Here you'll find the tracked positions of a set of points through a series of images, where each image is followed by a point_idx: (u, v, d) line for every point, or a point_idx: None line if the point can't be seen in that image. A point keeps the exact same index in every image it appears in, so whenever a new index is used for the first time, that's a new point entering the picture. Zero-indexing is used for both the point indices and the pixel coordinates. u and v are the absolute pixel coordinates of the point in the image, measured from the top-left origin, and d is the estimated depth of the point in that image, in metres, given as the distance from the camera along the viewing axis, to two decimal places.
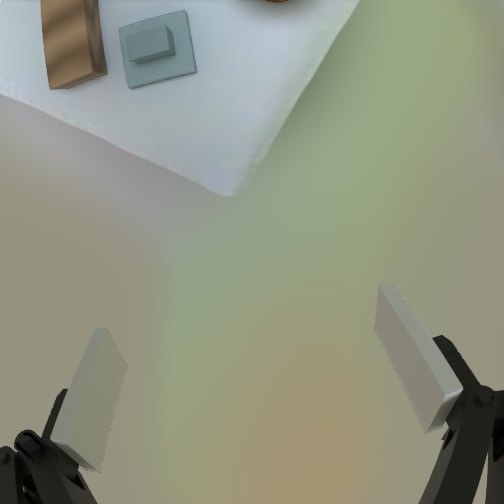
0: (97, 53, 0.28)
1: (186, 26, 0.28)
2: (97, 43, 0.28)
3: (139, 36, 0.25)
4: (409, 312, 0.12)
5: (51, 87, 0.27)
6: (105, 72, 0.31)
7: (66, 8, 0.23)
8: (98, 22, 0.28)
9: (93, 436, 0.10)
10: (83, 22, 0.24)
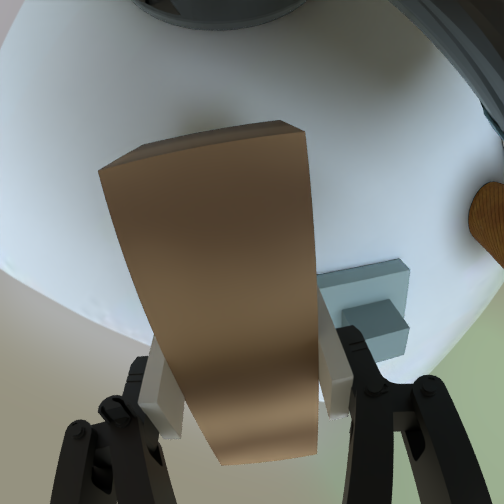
0: None
1: (406, 292, 0.25)
2: None
3: (376, 342, 0.22)
4: (319, 301, 0.13)
5: (225, 464, 0.16)
6: None
7: (259, 361, 0.12)
8: None
9: (175, 400, 0.12)
10: (313, 397, 0.13)
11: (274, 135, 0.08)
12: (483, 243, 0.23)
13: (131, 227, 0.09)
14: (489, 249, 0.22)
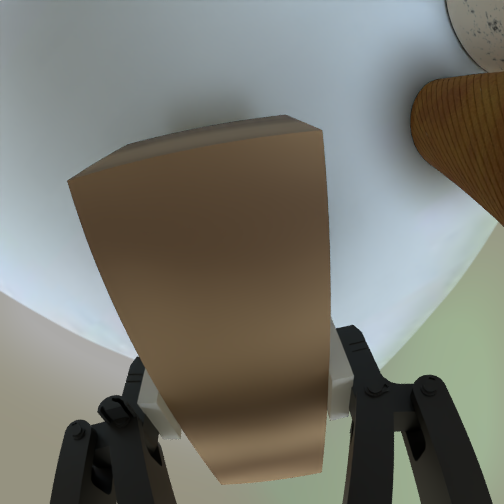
0: None
1: None
2: None
3: None
4: None
5: (225, 483, 0.15)
6: None
7: (263, 391, 0.10)
8: None
9: None
10: (320, 423, 0.12)
11: (284, 134, 0.06)
12: (435, 160, 0.15)
13: (109, 248, 0.07)
14: (443, 166, 0.14)
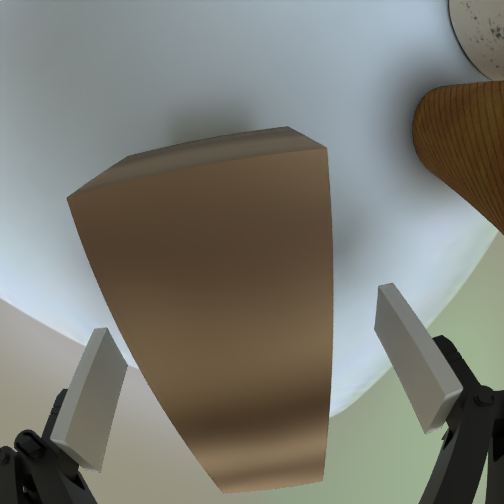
0: None
1: None
2: None
3: None
4: (409, 312, 0.12)
5: (226, 492, 0.15)
6: None
7: (265, 404, 0.10)
8: None
9: (93, 436, 0.10)
10: (321, 434, 0.12)
11: (287, 152, 0.06)
12: (437, 169, 0.15)
13: (110, 266, 0.07)
14: (446, 175, 0.14)
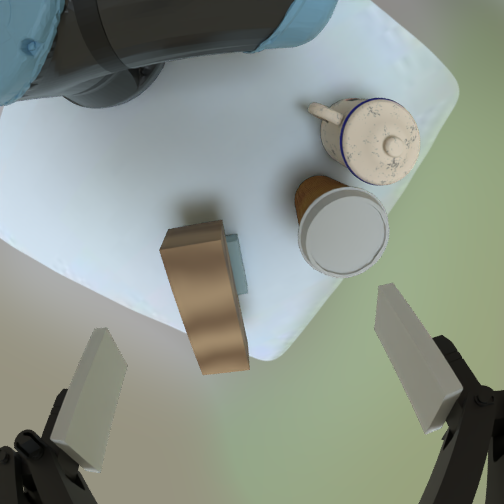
0: (245, 342, 0.39)
1: (239, 256, 0.41)
2: (243, 330, 0.38)
3: None
4: (409, 312, 0.12)
5: (204, 374, 0.38)
6: (247, 346, 0.41)
7: (214, 312, 0.33)
8: (238, 303, 0.38)
9: (93, 436, 0.10)
10: (238, 331, 0.35)
11: (211, 241, 0.30)
12: None
13: (170, 266, 0.30)
14: None
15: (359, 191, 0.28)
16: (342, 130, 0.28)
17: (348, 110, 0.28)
